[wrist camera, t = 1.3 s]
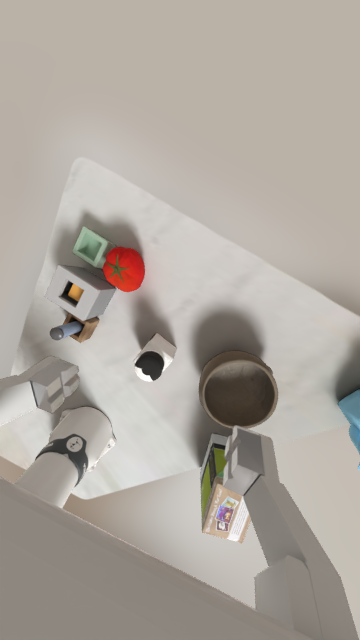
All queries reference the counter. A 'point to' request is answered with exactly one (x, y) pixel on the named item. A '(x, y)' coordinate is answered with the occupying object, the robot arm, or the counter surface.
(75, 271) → the grey hollow block
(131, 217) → the counter surface
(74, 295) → the button
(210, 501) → the tea box
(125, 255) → the tomato
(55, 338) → the grey rod
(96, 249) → the rest socket
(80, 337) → the holder
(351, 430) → the teapot
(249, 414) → the bowl
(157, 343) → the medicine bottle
